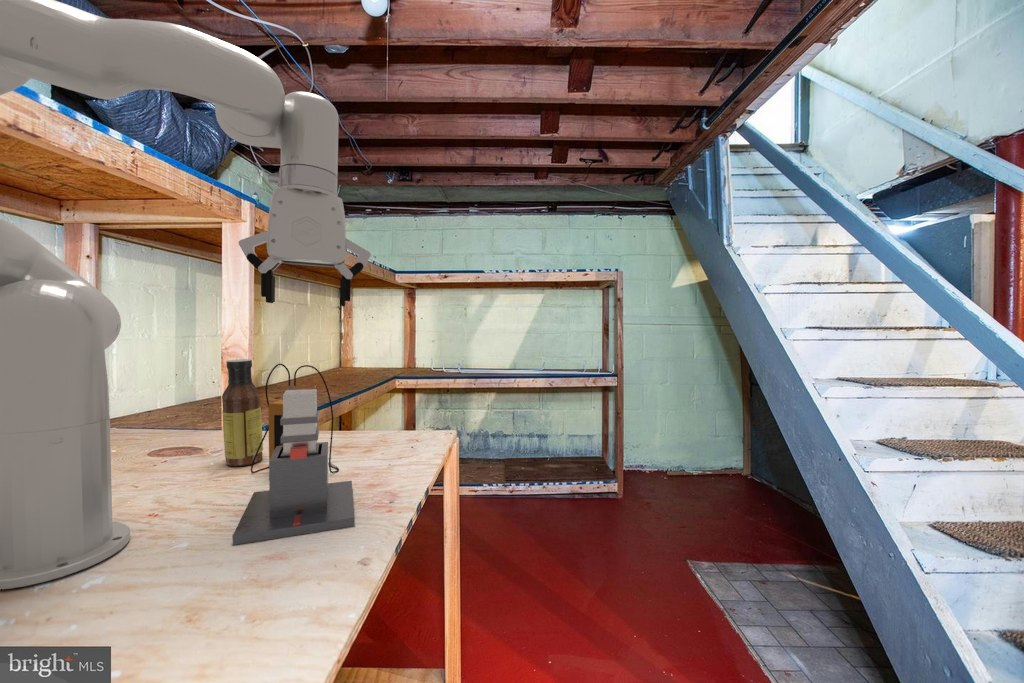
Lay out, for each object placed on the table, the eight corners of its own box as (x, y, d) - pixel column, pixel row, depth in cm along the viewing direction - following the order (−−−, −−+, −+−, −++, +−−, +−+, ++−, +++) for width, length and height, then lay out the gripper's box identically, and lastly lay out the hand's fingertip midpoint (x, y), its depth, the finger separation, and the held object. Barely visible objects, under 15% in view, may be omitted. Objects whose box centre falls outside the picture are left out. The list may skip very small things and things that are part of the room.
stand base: (232, 545, 51) (231, 461, 51) (254, 499, 64) (253, 432, 64) (354, 526, 57) (354, 450, 56) (351, 487, 69) (351, 425, 69)
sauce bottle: (261, 455, 85) (260, 357, 84) (265, 463, 80) (264, 360, 79) (222, 460, 81) (220, 359, 80) (223, 470, 76) (222, 361, 75)
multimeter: (354, 461, 83) (354, 360, 82) (327, 480, 73) (326, 365, 72) (284, 457, 84) (283, 358, 83) (248, 475, 74) (247, 363, 73)
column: (280, 511, 57) (280, 395, 57) (285, 497, 62) (284, 389, 61) (317, 506, 59) (317, 393, 58) (319, 493, 63) (319, 388, 63)
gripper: (233, 168, 54) (232, 300, 55) (373, 188, 61) (370, 306, 61) (246, 185, 61) (244, 302, 62) (370, 202, 68) (368, 308, 68)
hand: (307, 304), depth 62 cm, fingers open, 9 cm apart
